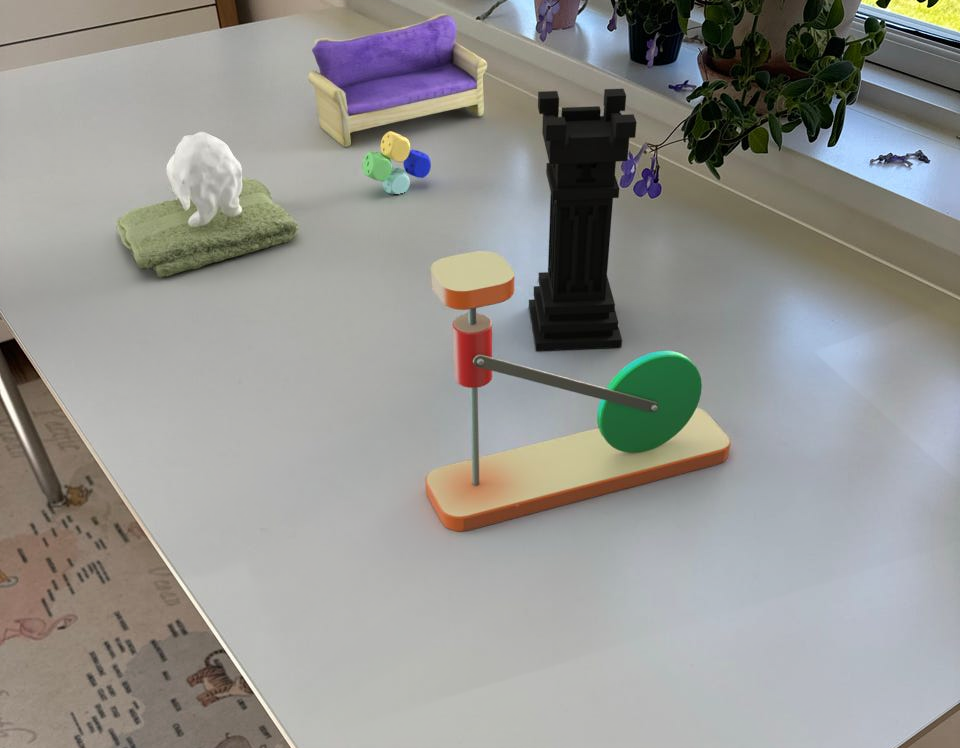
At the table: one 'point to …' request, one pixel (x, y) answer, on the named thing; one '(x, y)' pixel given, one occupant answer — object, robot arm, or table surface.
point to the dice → (398, 151)
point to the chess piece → (580, 223)
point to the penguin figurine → (205, 177)
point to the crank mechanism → (574, 458)
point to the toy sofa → (394, 77)
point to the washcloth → (204, 231)
